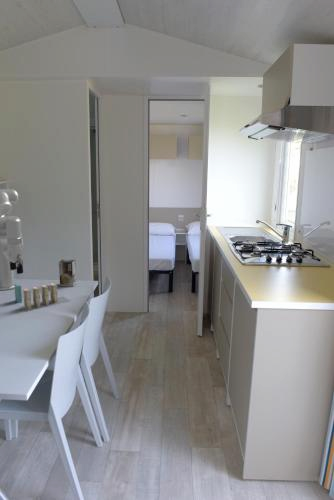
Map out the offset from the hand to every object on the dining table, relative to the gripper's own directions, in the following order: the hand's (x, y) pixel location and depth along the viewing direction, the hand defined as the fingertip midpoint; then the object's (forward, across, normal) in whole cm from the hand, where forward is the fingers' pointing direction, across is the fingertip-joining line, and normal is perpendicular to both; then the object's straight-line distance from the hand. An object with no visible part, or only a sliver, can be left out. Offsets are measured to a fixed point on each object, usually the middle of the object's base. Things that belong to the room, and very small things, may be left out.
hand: (16, 271), depth 208 cm
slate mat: (+18, +13, +10) cm, 24 cm away
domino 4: (+18, +13, +15) cm, 26 cm away
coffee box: (+18, -11, +36) cm, 42 cm away
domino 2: (+18, +13, +5) cm, 22 cm away
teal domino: (+18, 0, 0) cm, 18 cm away
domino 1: (+18, +13, 0) cm, 22 cm away
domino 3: (+18, +13, +10) cm, 24 cm away
